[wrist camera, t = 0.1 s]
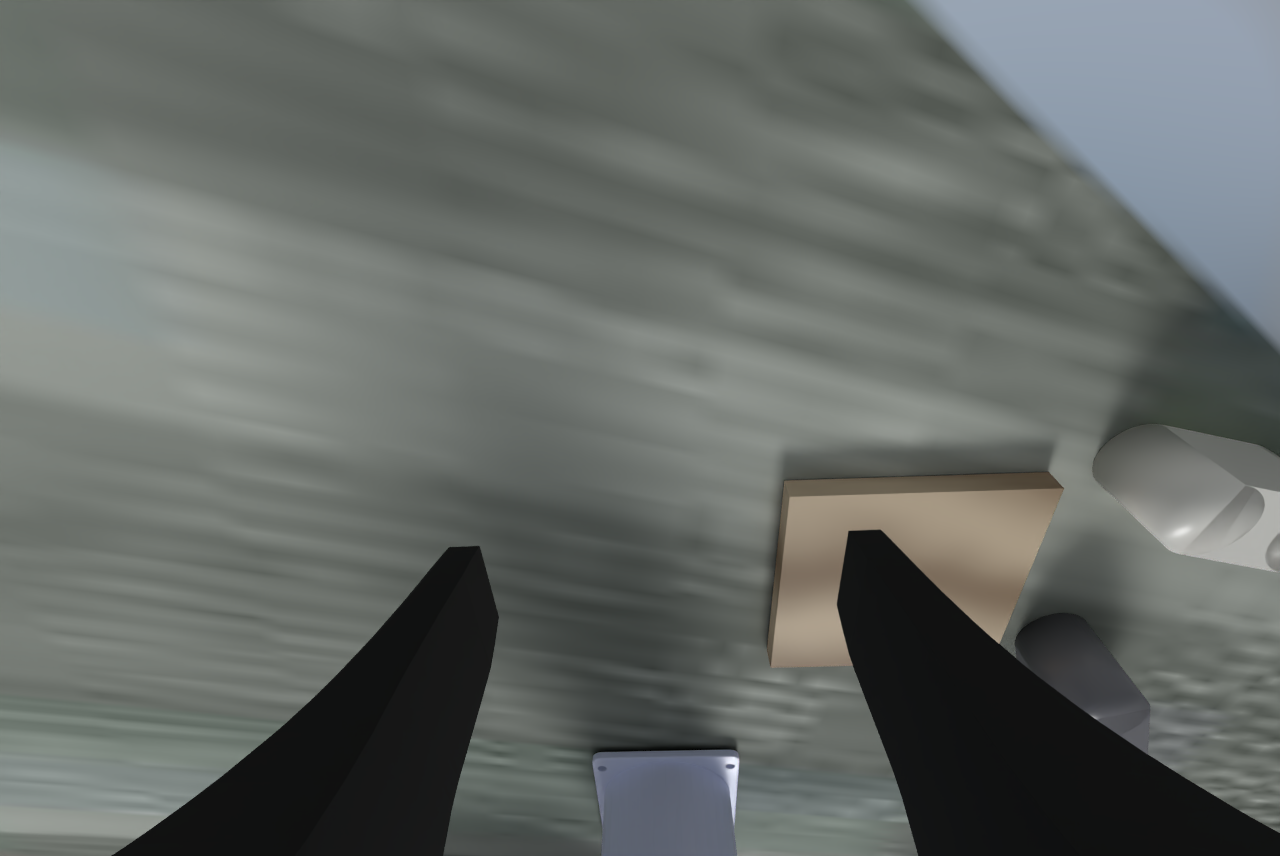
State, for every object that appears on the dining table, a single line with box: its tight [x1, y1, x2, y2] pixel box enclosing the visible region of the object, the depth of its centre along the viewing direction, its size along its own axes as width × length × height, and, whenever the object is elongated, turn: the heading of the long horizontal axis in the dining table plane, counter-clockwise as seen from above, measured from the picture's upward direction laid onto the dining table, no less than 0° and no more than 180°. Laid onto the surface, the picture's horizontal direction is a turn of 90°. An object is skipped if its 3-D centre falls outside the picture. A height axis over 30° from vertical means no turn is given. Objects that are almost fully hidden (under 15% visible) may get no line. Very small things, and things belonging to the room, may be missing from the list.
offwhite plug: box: [1092, 424, 1280, 573], centre depth 21 cm, size 9×3×4 cm, turn 78°
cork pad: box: [767, 472, 1064, 668], centre depth 25 cm, size 10×10×1 cm
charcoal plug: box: [1015, 613, 1150, 754], centre depth 28 cm, size 10×3×4 cm, turn 23°
